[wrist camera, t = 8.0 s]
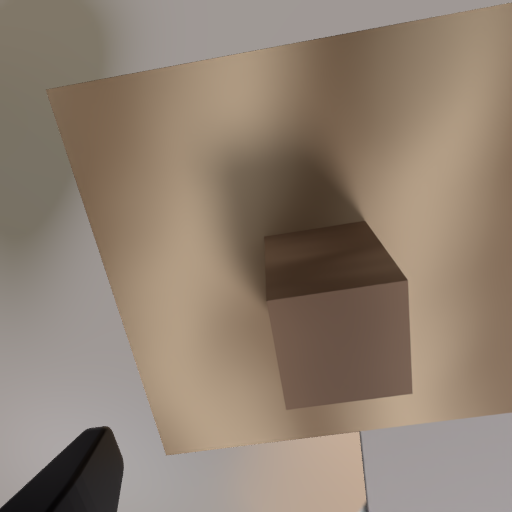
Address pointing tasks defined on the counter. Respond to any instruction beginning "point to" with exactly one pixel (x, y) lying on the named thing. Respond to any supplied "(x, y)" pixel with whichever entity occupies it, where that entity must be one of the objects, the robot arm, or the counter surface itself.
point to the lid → (309, 229)
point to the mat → (440, 466)
